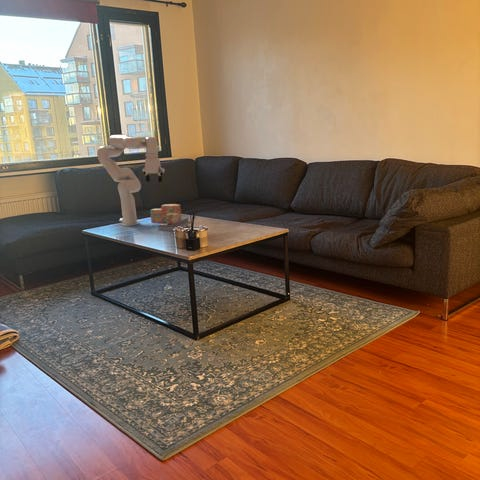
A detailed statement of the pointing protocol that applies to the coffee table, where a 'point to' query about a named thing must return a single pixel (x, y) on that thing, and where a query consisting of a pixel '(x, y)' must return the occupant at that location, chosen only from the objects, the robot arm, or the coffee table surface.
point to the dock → (170, 227)
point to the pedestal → (172, 218)
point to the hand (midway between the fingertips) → (154, 181)
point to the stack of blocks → (165, 212)
